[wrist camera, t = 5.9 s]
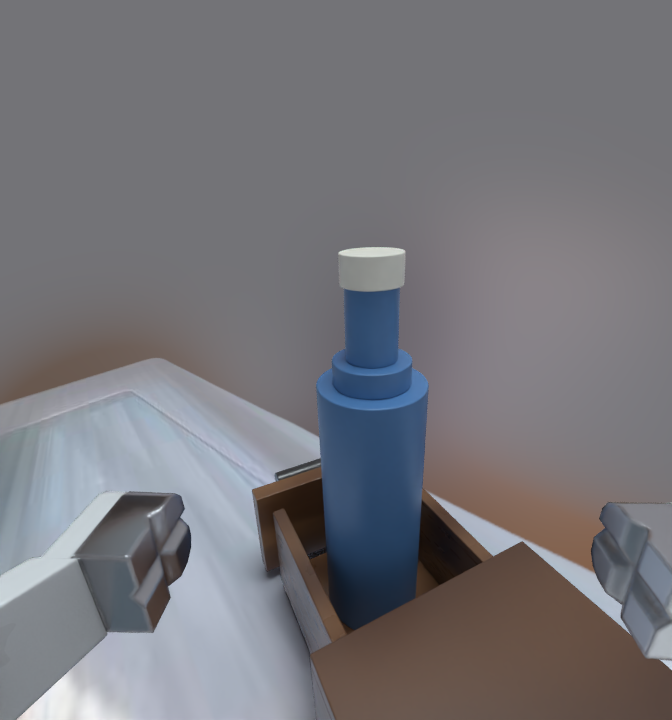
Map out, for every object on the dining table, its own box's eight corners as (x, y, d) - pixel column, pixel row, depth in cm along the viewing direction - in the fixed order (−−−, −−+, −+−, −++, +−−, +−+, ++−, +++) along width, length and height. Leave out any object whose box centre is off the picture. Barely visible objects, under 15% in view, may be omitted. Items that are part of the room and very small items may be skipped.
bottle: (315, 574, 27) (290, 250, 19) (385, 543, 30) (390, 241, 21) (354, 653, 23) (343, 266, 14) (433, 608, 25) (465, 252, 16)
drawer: (248, 522, 33) (238, 456, 31) (364, 480, 38) (364, 419, 35) (346, 789, 18) (341, 703, 16) (521, 665, 23) (540, 583, 20)
